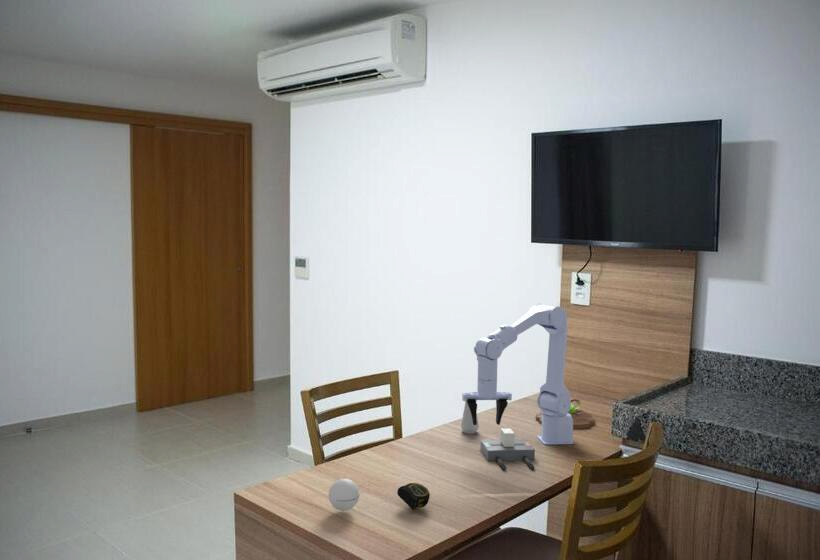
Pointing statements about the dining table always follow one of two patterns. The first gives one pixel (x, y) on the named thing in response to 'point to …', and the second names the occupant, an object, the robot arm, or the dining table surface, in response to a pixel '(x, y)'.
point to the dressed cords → (523, 459)
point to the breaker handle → (507, 437)
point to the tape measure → (414, 495)
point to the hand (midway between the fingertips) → (486, 424)
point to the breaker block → (507, 450)
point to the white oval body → (344, 494)
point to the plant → (575, 417)
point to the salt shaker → (468, 421)
